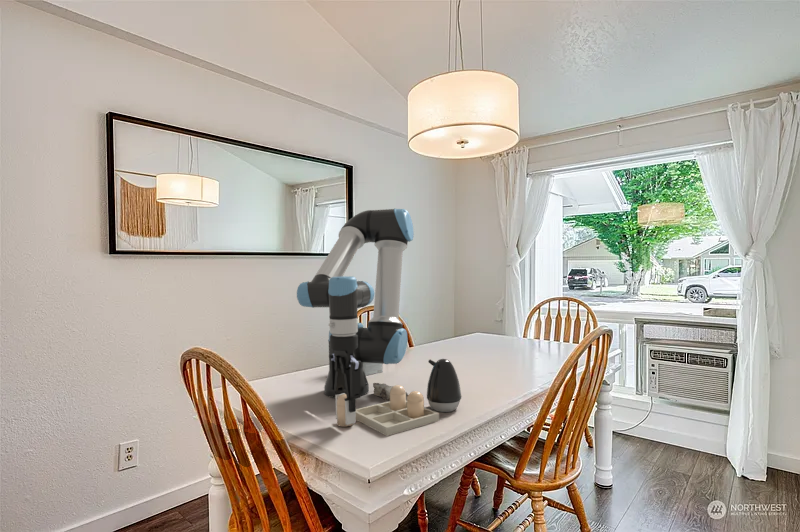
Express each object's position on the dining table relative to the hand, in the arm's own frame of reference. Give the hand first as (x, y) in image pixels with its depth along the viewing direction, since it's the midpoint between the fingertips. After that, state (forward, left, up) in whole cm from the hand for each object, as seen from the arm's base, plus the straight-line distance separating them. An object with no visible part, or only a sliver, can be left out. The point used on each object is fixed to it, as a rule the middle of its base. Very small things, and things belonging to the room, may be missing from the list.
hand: (345, 420), depth 120 cm
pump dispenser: (+6, +30, -2) cm, 30 cm away
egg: (0, 0, -1) cm, 1 cm away
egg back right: (+9, +17, -1) cm, 19 cm away
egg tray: (+5, +13, -2) cm, 14 cm away
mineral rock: (-13, +24, -2) cm, 28 cm away
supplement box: (-49, +38, -2) cm, 62 cm away
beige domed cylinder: (0, +17, -1) cm, 17 cm away
